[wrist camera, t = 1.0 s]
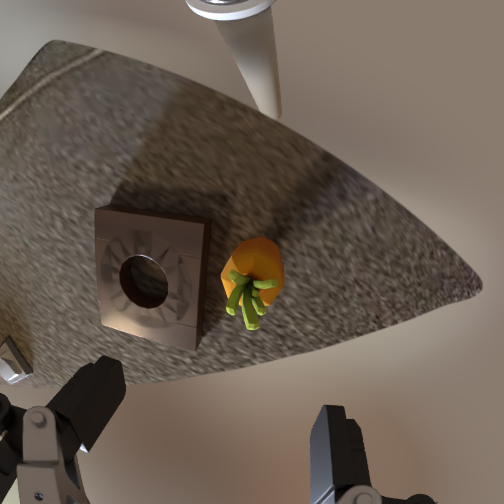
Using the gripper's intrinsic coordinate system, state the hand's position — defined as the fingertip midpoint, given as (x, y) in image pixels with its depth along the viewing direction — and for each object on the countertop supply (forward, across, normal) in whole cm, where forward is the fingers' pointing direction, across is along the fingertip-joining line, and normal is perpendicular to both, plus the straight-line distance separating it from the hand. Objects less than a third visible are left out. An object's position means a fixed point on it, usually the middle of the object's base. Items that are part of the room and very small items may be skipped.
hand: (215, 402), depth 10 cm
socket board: (+23, +13, +6) cm, 27 cm away
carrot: (+23, 0, 0) cm, 23 cm away
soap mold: (+23, +60, +42) cm, 77 cm away
